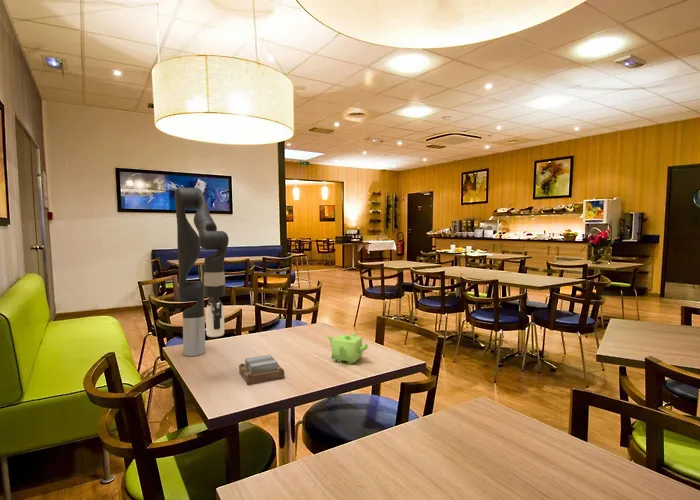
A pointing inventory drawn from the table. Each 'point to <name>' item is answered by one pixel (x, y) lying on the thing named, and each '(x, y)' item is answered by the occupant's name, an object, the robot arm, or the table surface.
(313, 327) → the table surface
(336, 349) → the kettle
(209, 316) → the can
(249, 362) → the grey block on base
